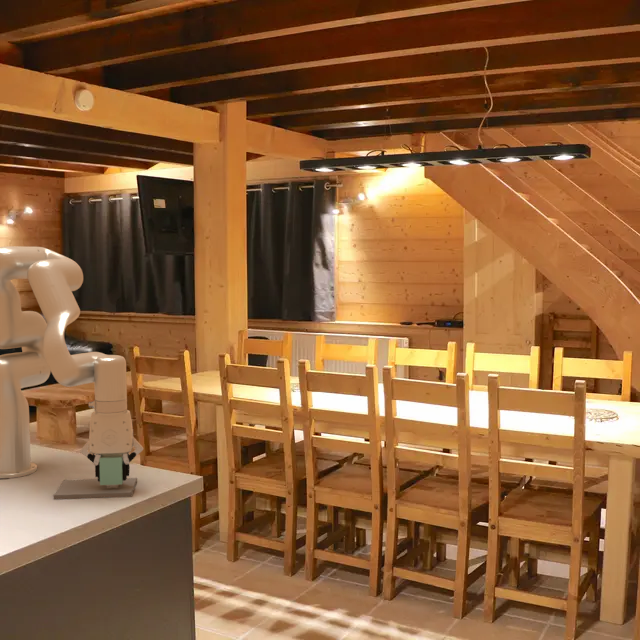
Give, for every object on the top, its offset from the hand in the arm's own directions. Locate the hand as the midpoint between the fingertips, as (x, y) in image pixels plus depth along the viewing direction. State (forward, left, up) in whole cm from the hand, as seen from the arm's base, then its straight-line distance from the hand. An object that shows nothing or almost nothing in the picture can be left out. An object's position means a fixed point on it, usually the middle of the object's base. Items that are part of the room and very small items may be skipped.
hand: (112, 478), depth 187 cm
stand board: (-4, +1, -3) cm, 5 cm away
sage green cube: (0, 0, -1) cm, 1 cm away
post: (0, 0, -3) cm, 3 cm away
